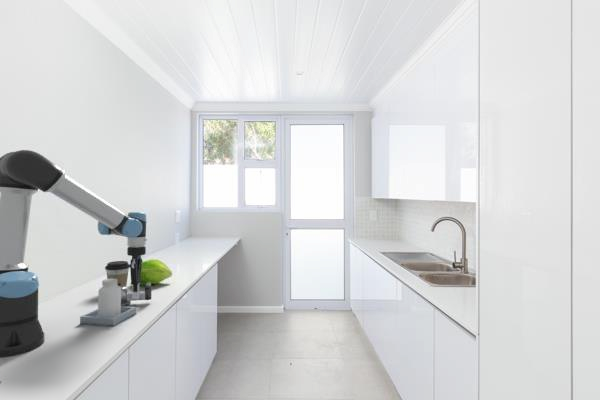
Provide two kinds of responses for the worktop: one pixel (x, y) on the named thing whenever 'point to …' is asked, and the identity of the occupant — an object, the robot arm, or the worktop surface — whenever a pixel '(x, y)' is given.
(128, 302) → the crank base
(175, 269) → the worktop surface
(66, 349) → the worktop surface
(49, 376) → the worktop surface
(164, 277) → the lettuce
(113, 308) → the pill bottle
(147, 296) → the crank
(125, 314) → the tray
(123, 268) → the coffee cup
